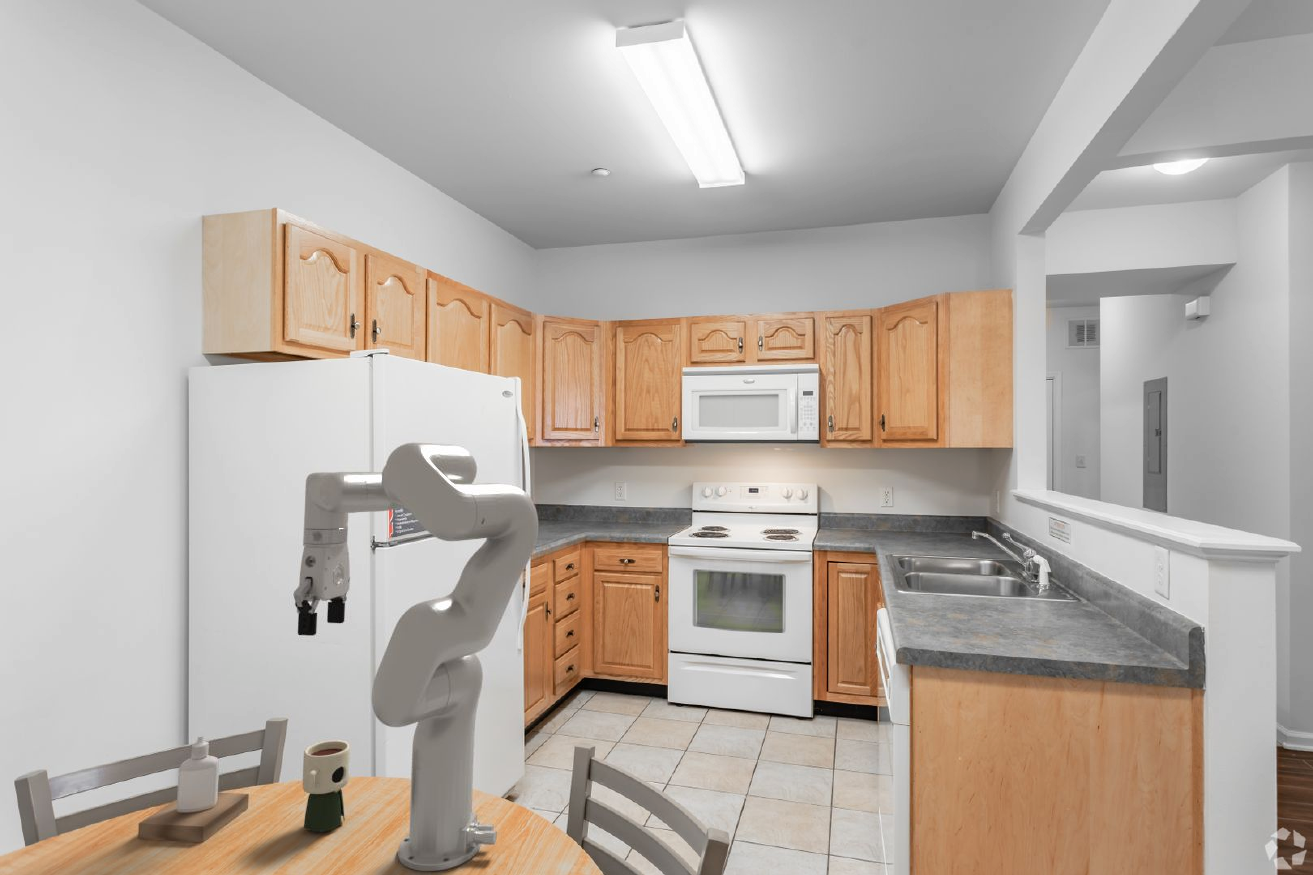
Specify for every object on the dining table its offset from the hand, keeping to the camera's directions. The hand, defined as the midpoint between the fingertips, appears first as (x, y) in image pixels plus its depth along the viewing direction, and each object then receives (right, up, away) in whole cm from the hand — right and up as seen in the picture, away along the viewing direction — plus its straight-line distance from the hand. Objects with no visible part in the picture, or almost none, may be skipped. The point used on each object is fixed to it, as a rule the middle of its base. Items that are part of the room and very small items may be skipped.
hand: (321, 628), depth 127 cm
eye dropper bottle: (-15, -27, -13) cm, 33 cm away
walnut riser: (-15, -30, -13) cm, 35 cm away
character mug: (+7, -30, -13) cm, 33 cm away
